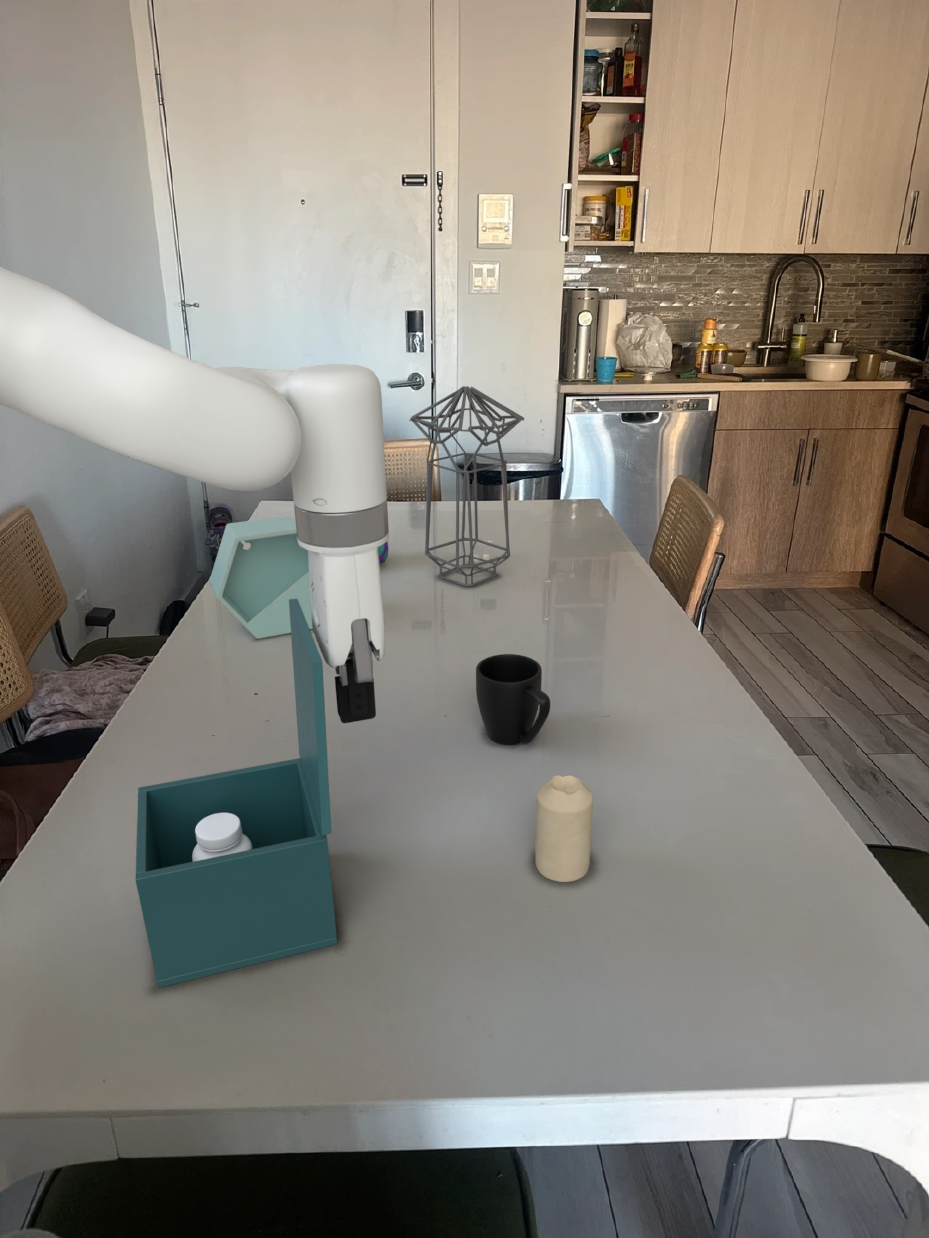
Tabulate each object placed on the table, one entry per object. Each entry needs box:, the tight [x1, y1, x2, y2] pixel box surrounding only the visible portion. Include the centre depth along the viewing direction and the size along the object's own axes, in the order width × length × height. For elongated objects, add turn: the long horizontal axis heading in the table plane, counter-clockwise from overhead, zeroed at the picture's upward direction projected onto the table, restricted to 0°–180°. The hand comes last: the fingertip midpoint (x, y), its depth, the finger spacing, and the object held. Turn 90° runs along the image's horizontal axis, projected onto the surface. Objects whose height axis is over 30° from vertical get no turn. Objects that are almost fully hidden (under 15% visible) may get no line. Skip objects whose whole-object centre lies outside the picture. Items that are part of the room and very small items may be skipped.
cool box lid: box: [289, 599, 332, 836], centre depth 77 cm, size 16×14×1 cm
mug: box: [475, 653, 551, 746], centre depth 109 cm, size 8×12×10 cm
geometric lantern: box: [409, 385, 525, 588], centre depth 157 cm, size 16×16×35 cm
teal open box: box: [134, 757, 338, 988], centre depth 81 cm, size 16×14×12 cm
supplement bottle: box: [192, 813, 253, 862], centre depth 81 cm, size 5×5×10 cm
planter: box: [208, 515, 313, 640], centre depth 141 cm, size 17×8×21 cm
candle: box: [534, 774, 594, 883], centre depth 87 cm, size 6×6×10 cm
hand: (356, 716), depth 79 cm, fingers closed
